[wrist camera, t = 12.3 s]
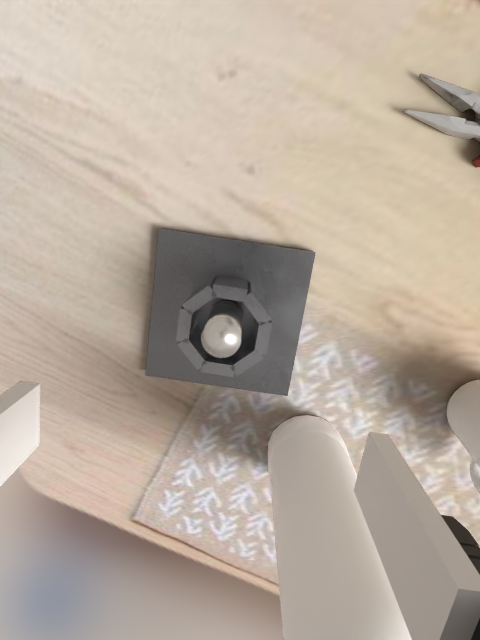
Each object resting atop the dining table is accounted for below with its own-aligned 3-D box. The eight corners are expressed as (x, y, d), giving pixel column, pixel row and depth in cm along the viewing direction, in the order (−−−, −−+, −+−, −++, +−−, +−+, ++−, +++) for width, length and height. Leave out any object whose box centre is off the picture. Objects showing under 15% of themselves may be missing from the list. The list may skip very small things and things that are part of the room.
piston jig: (161, 228, 34) (135, 229, 26) (313, 251, 34) (332, 259, 27) (148, 371, 38) (121, 409, 30) (286, 391, 38) (296, 434, 30)
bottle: (288, 491, 41) (387, 1154, 12) (252, 434, 39) (264, 1041, 10) (355, 460, 40) (649, 1108, 11) (321, 400, 38) (558, 972, 9)
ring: (192, 271, 34) (183, 279, 29) (273, 284, 34) (277, 294, 29) (182, 348, 36) (172, 367, 31) (259, 360, 36) (261, 381, 31)
